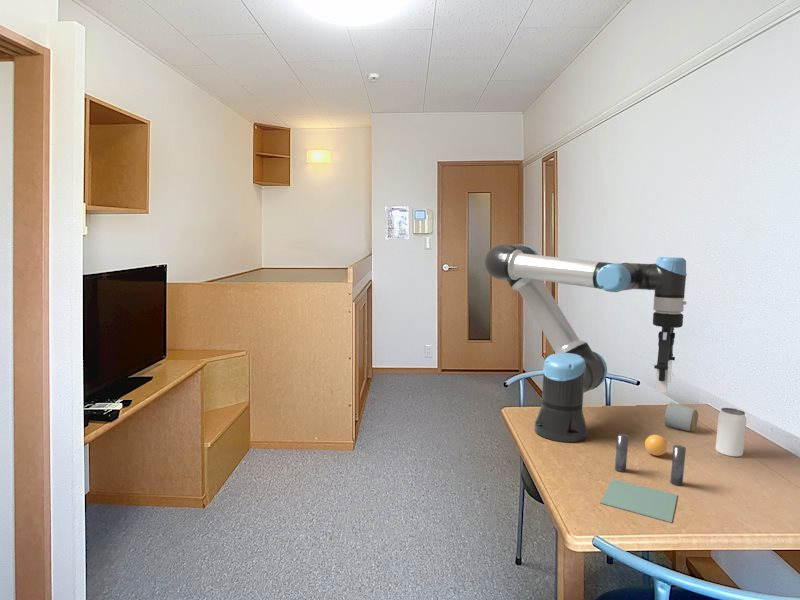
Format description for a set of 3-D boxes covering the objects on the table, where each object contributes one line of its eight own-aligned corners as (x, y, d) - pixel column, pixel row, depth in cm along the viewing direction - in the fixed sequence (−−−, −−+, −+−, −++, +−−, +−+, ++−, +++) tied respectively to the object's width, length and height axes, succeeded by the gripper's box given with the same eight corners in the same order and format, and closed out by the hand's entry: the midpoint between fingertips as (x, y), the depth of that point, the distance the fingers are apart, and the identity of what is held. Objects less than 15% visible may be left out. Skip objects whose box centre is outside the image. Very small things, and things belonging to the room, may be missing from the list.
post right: (669, 483, 124) (673, 447, 123) (670, 479, 126) (674, 444, 125) (682, 486, 122) (685, 450, 121) (682, 482, 124) (686, 446, 123)
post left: (613, 470, 130) (616, 436, 129) (615, 466, 132) (618, 432, 131) (624, 473, 129) (627, 438, 128) (626, 469, 131) (629, 435, 130)
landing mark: (600, 503, 113) (600, 502, 113) (612, 479, 125) (612, 478, 125) (671, 523, 106) (671, 522, 106) (677, 495, 118) (677, 494, 118)
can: (747, 458, 140) (751, 415, 138) (720, 456, 141) (724, 413, 140) (736, 449, 146) (740, 408, 145) (711, 447, 147) (715, 406, 146)
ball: (642, 455, 140) (644, 436, 139) (645, 449, 145) (647, 430, 144) (665, 460, 137) (667, 440, 136) (667, 453, 142) (669, 434, 141)
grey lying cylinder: (692, 435, 157) (694, 410, 156) (663, 428, 162) (665, 404, 161) (699, 427, 165) (702, 403, 164) (671, 420, 170) (673, 397, 169)
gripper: (680, 317, 133) (675, 399, 135) (685, 309, 153) (681, 379, 156) (648, 315, 137) (643, 394, 139) (657, 307, 157) (653, 376, 160)
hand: (663, 387), depth 147 cm, fingers open, 12 cm apart
